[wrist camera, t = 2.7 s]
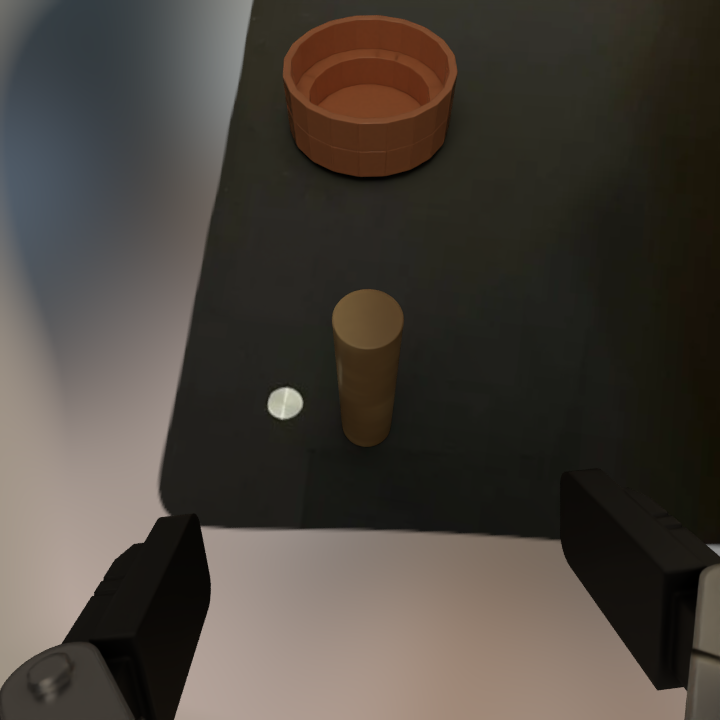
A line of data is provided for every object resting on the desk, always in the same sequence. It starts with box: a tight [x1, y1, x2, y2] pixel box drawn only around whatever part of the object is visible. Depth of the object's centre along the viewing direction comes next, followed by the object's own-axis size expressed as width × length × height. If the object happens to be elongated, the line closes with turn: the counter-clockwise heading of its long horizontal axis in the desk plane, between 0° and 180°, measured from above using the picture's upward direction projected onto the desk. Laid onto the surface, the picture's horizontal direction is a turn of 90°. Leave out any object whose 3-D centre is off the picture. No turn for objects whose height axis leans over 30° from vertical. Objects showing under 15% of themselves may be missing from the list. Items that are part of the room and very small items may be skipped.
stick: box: [332, 289, 404, 447], centre depth 28 cm, size 3×3×12 cm
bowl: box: [283, 15, 458, 177], centre depth 43 cm, size 13×13×6 cm
